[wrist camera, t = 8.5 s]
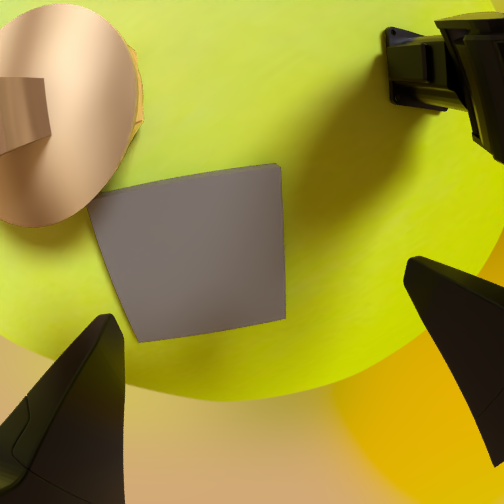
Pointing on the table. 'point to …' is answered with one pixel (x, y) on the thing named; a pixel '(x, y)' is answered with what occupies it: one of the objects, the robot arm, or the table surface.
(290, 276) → the table surface
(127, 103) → the lid
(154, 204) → the mat
